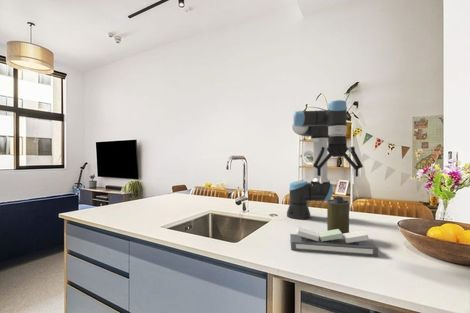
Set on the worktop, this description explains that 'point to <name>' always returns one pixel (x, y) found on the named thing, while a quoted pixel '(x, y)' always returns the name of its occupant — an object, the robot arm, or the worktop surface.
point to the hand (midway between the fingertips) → (337, 183)
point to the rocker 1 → (307, 233)
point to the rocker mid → (330, 235)
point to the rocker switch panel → (333, 246)
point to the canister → (338, 214)
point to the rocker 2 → (355, 236)
